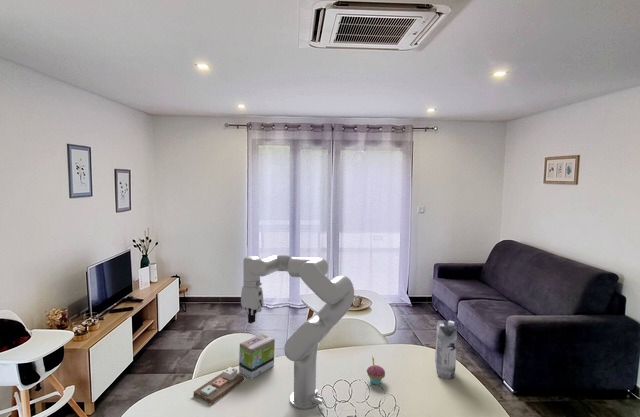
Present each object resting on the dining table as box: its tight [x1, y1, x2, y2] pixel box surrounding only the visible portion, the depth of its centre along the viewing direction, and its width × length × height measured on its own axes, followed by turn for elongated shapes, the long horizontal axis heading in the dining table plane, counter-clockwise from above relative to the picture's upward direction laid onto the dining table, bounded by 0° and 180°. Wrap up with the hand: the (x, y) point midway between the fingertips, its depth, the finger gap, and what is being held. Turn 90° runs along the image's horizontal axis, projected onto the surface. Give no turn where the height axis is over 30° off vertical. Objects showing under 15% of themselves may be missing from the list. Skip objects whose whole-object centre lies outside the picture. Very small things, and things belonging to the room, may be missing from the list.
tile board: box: [193, 372, 245, 405], centre depth 151 cm, size 11×20×2 cm, turn 151°
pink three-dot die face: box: [212, 378, 228, 388], centre depth 151 cm, size 5×5×3 cm
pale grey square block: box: [201, 385, 217, 396], centre depth 145 cm, size 5×5×3 cm
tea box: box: [238, 333, 276, 380], centre depth 166 cm, size 15×10×15 cm
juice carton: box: [434, 319, 458, 380], centre depth 165 cm, size 9×10×27 cm
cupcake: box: [366, 355, 386, 385], centre depth 158 cm, size 9×8×12 cm
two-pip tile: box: [222, 366, 238, 381], centre depth 157 cm, size 5×5×3 cm
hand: (251, 322), depth 153 cm, fingers closed
